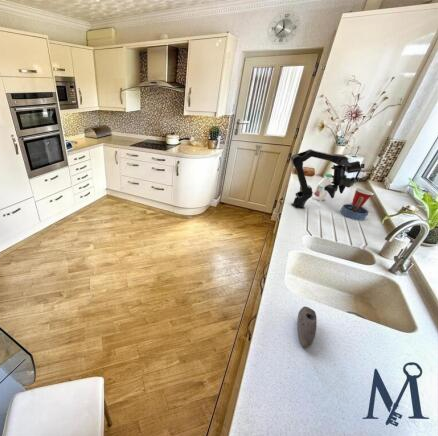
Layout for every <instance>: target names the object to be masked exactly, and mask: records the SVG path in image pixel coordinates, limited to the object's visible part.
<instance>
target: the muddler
mask: <svg viewBox="0 0 438 436" xmlns="http://www.w3.org/2000/svg"><path fill="white" fill-rule="evenodd" d="M363 199H364V197H360V198H359V200H358V201H357V203H356V205H355V207H354V209H353V210H352V211H353V212H356V213H358V212H357V210H358V208H359V206H360V204H361V203H362V201H363Z"/></svg>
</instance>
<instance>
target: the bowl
mask: <svg viewBox="0 0 438 436" xmlns="http://www.w3.org/2000/svg"><path fill="white" fill-rule="evenodd" d="M354 207H355V205H352V203H351V204H349V203H345V204H342V206H341V208H340V210H339V213H340V214H342V215H343V216H345V217H346V218H349V219H352V220H357V221H358V220H359V221H363V220H366V219H367V217H368V216H369V214H370V211H369V210H368V209H366V208H364V207H363V206H361V207H359V208H358V210H357V212H358V213H356V212H353V211H352V210H353V209H354Z"/></svg>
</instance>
